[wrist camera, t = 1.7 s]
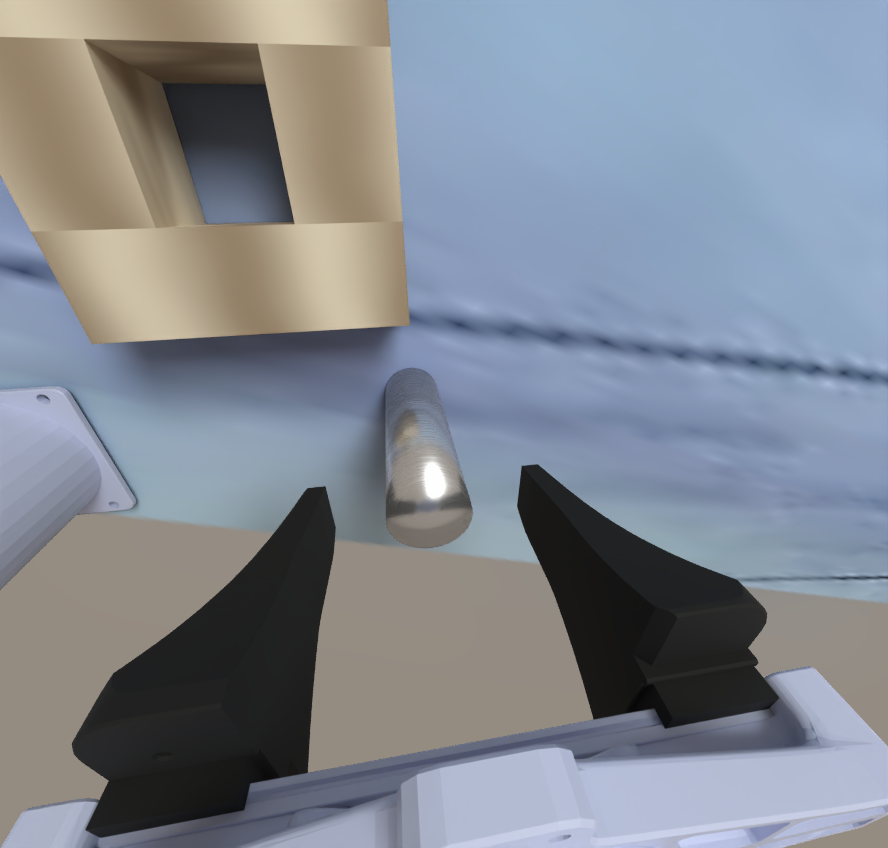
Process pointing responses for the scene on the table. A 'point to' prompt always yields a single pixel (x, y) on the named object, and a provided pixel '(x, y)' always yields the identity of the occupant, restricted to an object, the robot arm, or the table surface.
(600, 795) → the robot arm
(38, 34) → the knuckle block
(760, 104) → the table surface
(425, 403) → the peg
